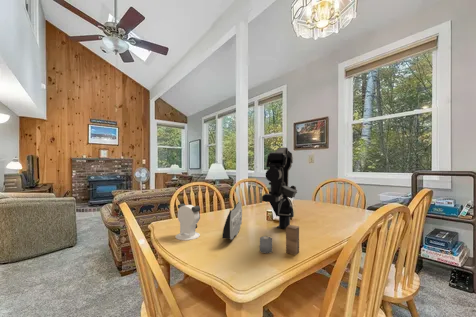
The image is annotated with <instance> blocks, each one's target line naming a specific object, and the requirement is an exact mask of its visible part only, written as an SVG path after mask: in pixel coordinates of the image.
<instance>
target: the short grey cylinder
mask: <svg viewBox="0 0 476 317" xmlns="http://www.w3.org/2000/svg"><path fill="white" fill-rule="evenodd" d="M259 252H260V253H263V254H271V253H273V238H272V237H271V236H267V235H266V236H264V235H263V236H260V237H259Z"/></svg>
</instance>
